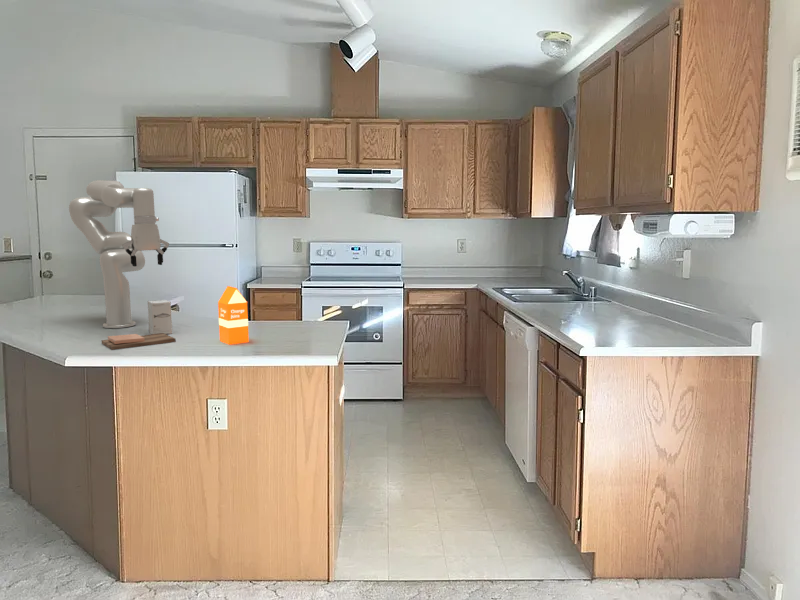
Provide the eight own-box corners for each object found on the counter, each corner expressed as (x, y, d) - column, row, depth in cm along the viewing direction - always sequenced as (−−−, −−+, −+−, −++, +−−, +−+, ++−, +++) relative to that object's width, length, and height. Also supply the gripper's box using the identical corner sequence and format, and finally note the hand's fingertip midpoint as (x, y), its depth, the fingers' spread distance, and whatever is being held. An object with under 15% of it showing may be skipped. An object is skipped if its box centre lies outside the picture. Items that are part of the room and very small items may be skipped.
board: (101, 343, 242) (101, 340, 242) (163, 336, 256) (162, 333, 255) (111, 349, 231) (111, 346, 231) (175, 341, 244) (175, 338, 244)
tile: (136, 333, 248) (136, 337, 248) (107, 336, 242) (107, 339, 242) (144, 337, 240) (144, 341, 240) (115, 340, 234) (115, 344, 234)
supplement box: (152, 335, 257) (150, 303, 255) (149, 332, 263) (147, 300, 261) (172, 333, 260) (170, 301, 259) (168, 330, 267) (166, 299, 265)
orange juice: (228, 344, 239) (226, 288, 236) (219, 340, 246) (216, 286, 243) (249, 342, 243) (247, 287, 240) (239, 338, 250) (237, 284, 247)
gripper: (164, 220, 266) (166, 263, 268) (118, 221, 255) (121, 266, 258) (170, 220, 260) (173, 264, 262) (123, 221, 250) (126, 267, 252)
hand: (147, 265), depth 260 cm, fingers open, 9 cm apart
